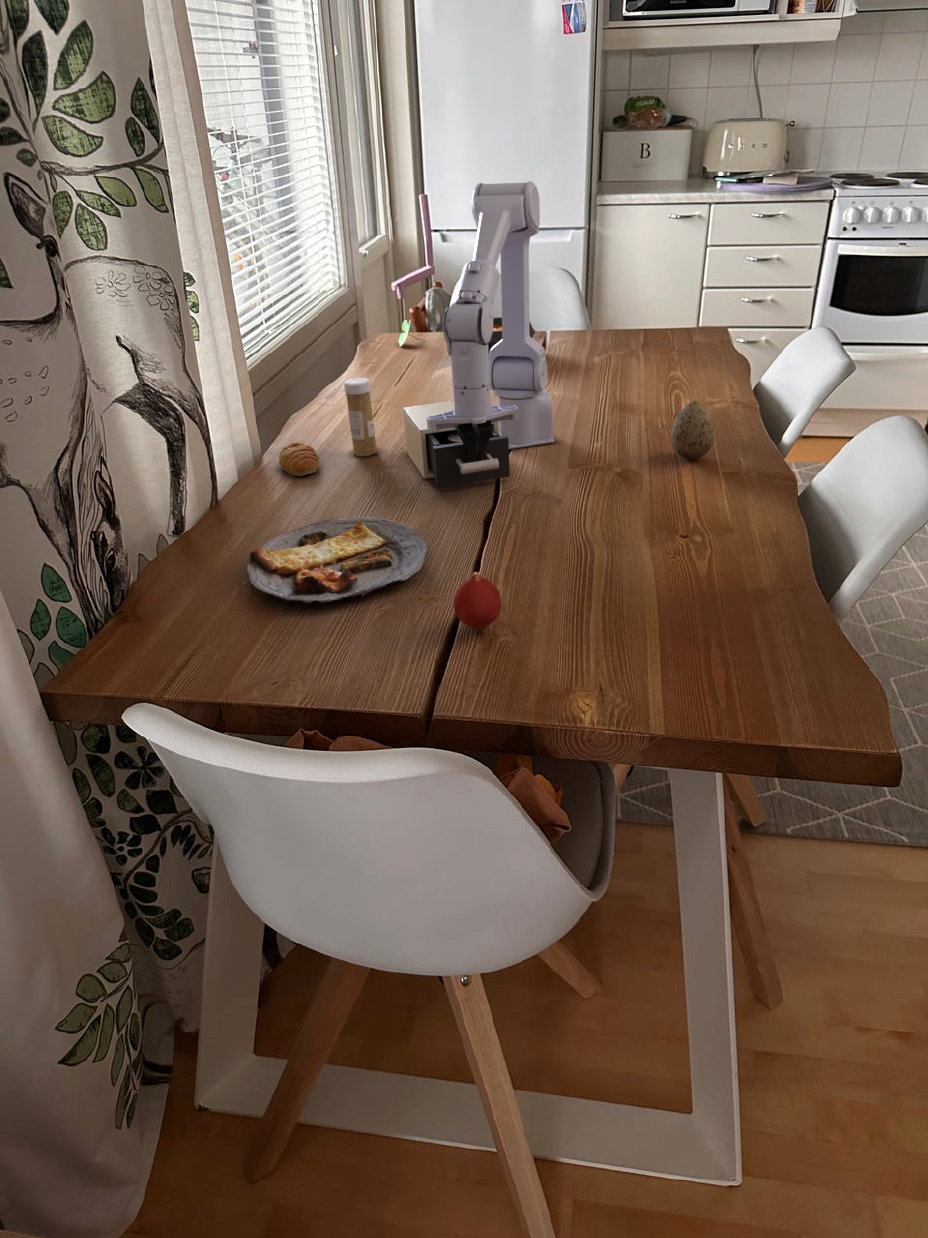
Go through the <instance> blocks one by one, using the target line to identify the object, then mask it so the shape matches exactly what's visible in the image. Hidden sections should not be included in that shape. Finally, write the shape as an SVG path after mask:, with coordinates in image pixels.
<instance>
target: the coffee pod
mask: <svg viewBox="0 0 928 1238" xmlns="http://www.w3.org/2000/svg"><path fill="white" fill-rule="evenodd" d="M448 440H449V441H450V442H452V444H453V443H460V442H462V440H461V438H460V436H459V434H458V433H457V432H456V433H452V434H450V435H449V436H448Z"/></svg>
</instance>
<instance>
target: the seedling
mask: <svg viewBox="0 0 928 1238" xmlns="http://www.w3.org/2000/svg"><path fill="white" fill-rule="evenodd" d="M410 326H411V320H409V322H408V320H407V319H404V320H403V321H402V326H401V330H402V331H403V332H402V333H400V335H399V338H398V344H399V347H401V346H403V344H404V343H405V341H406V340H407V337H408V336H410V337H412V338H413V339H415V340H419V341H423V342H426V340H425V339H422V338H417V337H416V336H414V335H412V334H410V333H409V330H410Z"/></svg>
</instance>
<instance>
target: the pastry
mask: <svg viewBox="0 0 928 1238" xmlns="http://www.w3.org/2000/svg"><path fill="white" fill-rule="evenodd" d="M278 459H279V460H278V464H279V466H280V467H281V468H282V470H283V471H284V472H287V473H288V474H289V475H292V476H297V477H302V476H305V475H309V474H314V473H316V472H317V471H318V468H319V464H320V462H319V460H320V457H319V455H318V453H317V452H316V451H315V448H313V447H312V446H311V445H307V444H304V442H303V443H302V442H291V443H290V444H288V445H287V446H284V447H283V448H282V450H281V451H280V452H279V456H278Z"/></svg>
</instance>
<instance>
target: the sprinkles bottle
mask: <svg viewBox="0 0 928 1238" xmlns="http://www.w3.org/2000/svg"><path fill="white" fill-rule="evenodd" d="M343 386H344V387H343V388H344V393H345V395H346V402H347V403H346V404H347V413H348V421H349V429H350V436H351V437H350V438H351V440H352V441H351V442H352V449H353V450H352V453H353V455H355V456H357V457H369V456H372V455H375V454H376V453H377V452H378V447H377V441H376V429H375V424H374V414H373V409H372V399H371V390H372V389H371V381H370V379H368V378H365V377H354V378H350V379H347V380H345V381H344V383H343Z"/></svg>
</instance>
